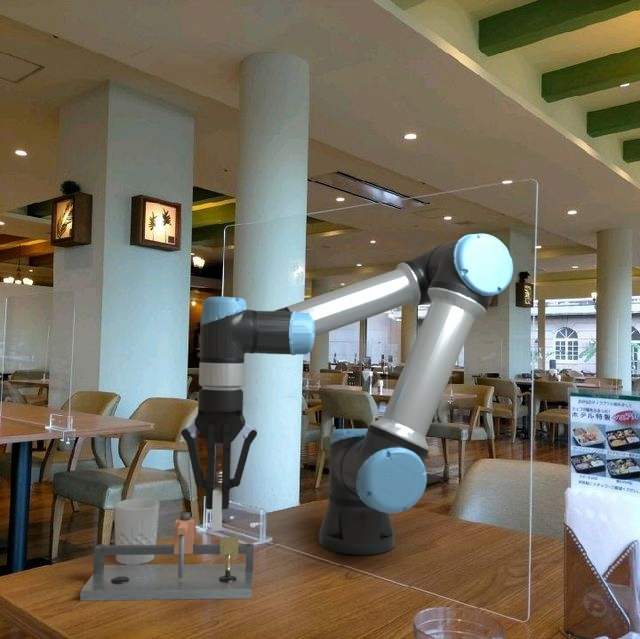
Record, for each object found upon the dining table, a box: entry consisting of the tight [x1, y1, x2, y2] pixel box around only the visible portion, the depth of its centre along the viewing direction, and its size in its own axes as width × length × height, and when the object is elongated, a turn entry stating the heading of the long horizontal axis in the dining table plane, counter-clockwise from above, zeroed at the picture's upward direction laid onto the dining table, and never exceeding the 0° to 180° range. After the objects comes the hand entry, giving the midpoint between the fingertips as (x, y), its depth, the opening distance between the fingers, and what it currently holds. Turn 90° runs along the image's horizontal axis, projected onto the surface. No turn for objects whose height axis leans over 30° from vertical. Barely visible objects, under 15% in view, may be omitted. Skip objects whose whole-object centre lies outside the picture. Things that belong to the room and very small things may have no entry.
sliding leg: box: [173, 511, 196, 578], centre depth 103 cm, size 3×7×9 cm, turn 5°
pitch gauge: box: [79, 536, 255, 602], centre depth 102 cm, size 26×11×7 cm, turn 95°
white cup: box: [114, 497, 160, 565], centre depth 114 cm, size 8×8×10 cm
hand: (216, 528), depth 105 cm, fingers closed
